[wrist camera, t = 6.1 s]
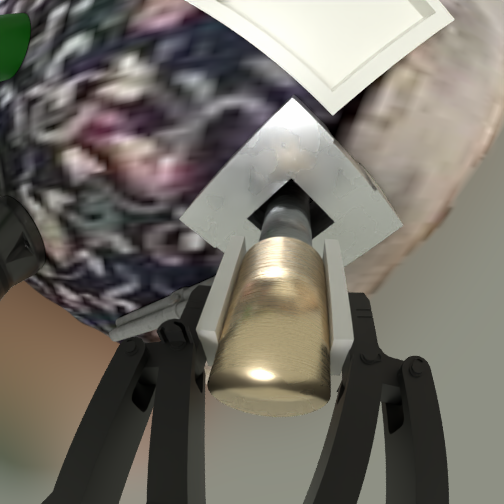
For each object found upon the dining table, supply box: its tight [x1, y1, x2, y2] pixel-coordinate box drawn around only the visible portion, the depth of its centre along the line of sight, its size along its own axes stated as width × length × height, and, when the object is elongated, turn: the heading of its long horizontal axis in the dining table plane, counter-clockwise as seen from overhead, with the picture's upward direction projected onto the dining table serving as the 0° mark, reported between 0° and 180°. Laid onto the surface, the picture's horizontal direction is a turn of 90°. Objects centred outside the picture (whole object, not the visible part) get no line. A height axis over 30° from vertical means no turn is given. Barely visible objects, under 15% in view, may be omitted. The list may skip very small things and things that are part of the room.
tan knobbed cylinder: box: [207, 181, 331, 417], centre depth 15 cm, size 4×4×16 cm
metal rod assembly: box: [109, 276, 215, 341], centre depth 33 cm, size 26×3×5 cm, turn 124°
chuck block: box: [179, 95, 403, 267], centre depth 21 cm, size 12×12×6 cm
